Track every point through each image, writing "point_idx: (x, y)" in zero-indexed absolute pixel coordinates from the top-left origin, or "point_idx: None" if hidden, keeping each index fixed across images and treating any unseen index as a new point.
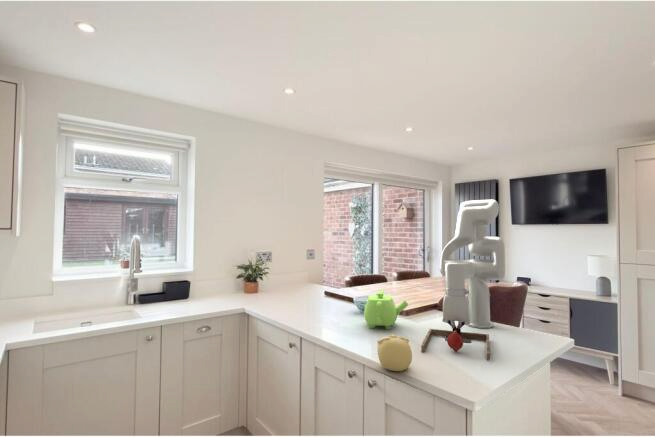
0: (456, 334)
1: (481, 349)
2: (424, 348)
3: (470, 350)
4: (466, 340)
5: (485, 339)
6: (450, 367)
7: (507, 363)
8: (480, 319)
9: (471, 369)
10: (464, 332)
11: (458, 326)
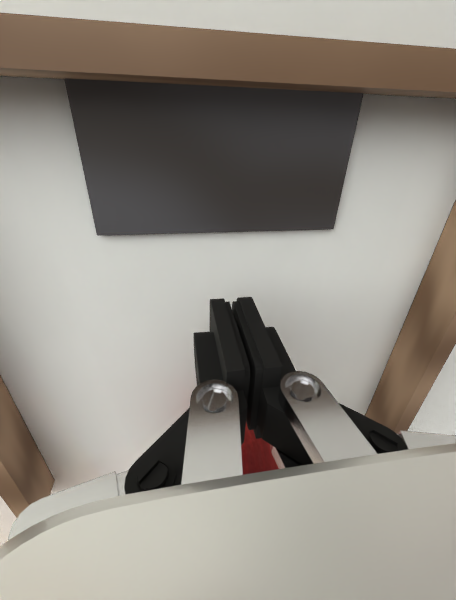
0: None
1: (372, 329)
2: (44, 488)
3: (303, 368)
4: (305, 187)
5: None
6: None
7: (424, 432)
8: None
9: None
10: (326, 67)
11: (282, 453)
